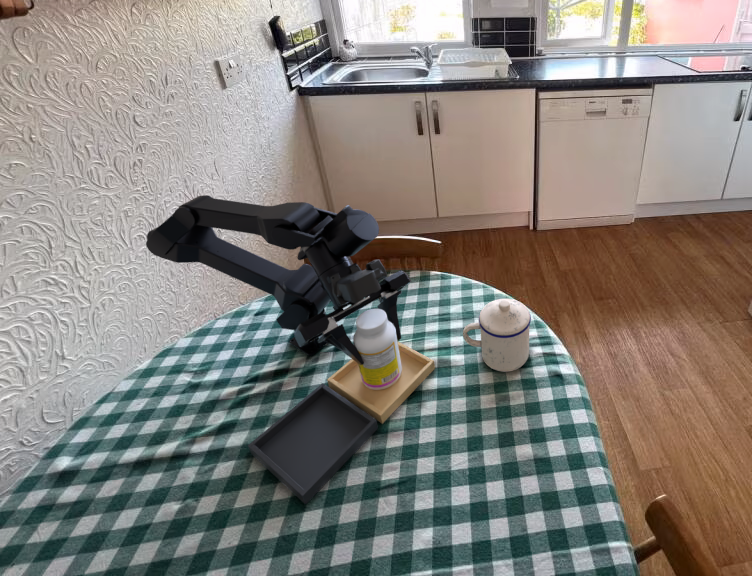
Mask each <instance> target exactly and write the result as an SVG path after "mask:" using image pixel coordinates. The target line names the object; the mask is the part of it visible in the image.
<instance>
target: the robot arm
mask: <svg viewBox="0 0 752 576" xmlns="http://www.w3.org/2000/svg"><path fill="white" fill-rule="evenodd" d="M172 213H173V214H171V215H170V216H169V217H167V219H166V220H165V221H163V222H162V223H161V224H160V225H158V226H157V227H155V228H152V229H151V230H150V231H148V232H147V234H146V241H145V246H146V248H147V250H148V251H149V252H150V253H151V254H152V255H154V256H156V257H159V258H161V259H163V260H167V261H170V262H174V263H176V264H177V263H178V264H187V263H188V264H190V263H200V264H202V265H205V266H207V267H209V268H211V269H213V270H216V271H218V272H220V273H223V274H225V275H227V276H229V277H232V278H233V279H235V280H237V281H240V282H242V283H245V284H247V285H249V286H251V287H253V288H256V289H258V290H260V291H262V292H265V293H266V294H269V295H271V296H272V297H274V299H275V301H276V303H277V304H278V306H279V308H280V309H281V311H282V312H281V314H280V315H279V316H278V317H277V318H276V322H277V324H278V325H279V326H280V328H281V329H283V330H289V331H293V332H294V334H293V336H294V337H292V338H290V340H289V344H290V345H291V346H293V347H294V348H295V349H297V350H299V351H301V352H302V353H304V354H305V355H306V356H308V357H312V356H313V355H315V354H316V353H317V352H319V351H320V350H322V349H323V348H325V346H327V345H328V344H329V345H331V346H333V347H335V348H336V349H338V350H340V351H341V352H342V353H344V354H345V355H346V356H347V357H349V358H350V359H353V360H354V361H355V362H357V363H358V364H359V365H363V364H364V361H363V359H362V357H361V355H360V354H359V352H358V351H357V349H356V348H355V346H354V343H353V342H352V340H351V338H350V337H349V335H348V334H347V332H346V329H345V327H344V325H343V323H341V324H338V322H340V321H342V320H344V319H345V318H347V317H348V316H350V315H353V314H354V313H356V312H358V311H359V310H361V309H363V308H365V307H366V306H368V305H371V304H372V303H374V302H375V301H377V300H378V302H379V304H378V305H377V306H376V308H377V309H381V310H383V311H385V313H386V315H387V319H388V321H390V322H391V323H392V324H393V325H394V327H395V330H396V335H397V341H399V340H402V333H401V328H400V322H399V315H398V298H399V296H400V295H402V294H403V291H402V290H403V289H404V288H405V287H407V286H408V285H409V284H410V283H412V279H411V277H410V275H409V274H408V273H407V271H404V270H402V269H399V270H397V271H396V272H394V273H393V274H390V275H389V276H388V273H387V270H386V268H385V266H384V265H383V263H382V262H381V260H380V259H374V260H372V261H370V262H368V263H366V264H365V269H363V270H362V269H361V268H360V266H359V265H358V263H357V262H353V260H352V258H351V257H353V256H355V255H356V254H357V253H359V252H360V251H361V250H362V249H363V248H365V247H366V246H367V245H369V244H370V243H371V242H373V241H374V240H375V239H377V237H378V236H379V234H380V227H379V226H380V225H379V224H378V222H377V220H376V218H375V216H373V214H371V213H368V212H366V211H365V210H362V209H353V208H352V206H350V205H349V204H347V205H345V206H344V207H343V208H342V209H341V210H340V211H338V212H337V213H336V212H333V211H329V210H326V209H323V208H319V207H315V206H314V205H313V204H312V203H309V202H306V201H305V202H304V201H299V202H298V201H297V202H296V201H293V202H285V203H280V204H275V205H262V204H254V203H250V202H249V203H248V202H240V201H235V200H229V199H228V200H227V199H221V198H214V197H212V196H211V195H208V194H204V195H198V196H196V197H194V198H192V199H190V200H188V201H186V202H184V203H182V204H181V205H179V206H178V207H177V209H175V211H174V212H172ZM215 229H219V230H225V231H232V232H239V233H245V234H252V235H256V236H261V237H262V239H263V240H264V241H265V242H266V243H267V244H268V245H272V246H275V247H279V248H281V249H285V250H289V251H291V250H292V251H295V250H297V249H298V248H299V251H298V253H297V258H296V259H297V260H298V261H303V260H305V259H307V260H308V261H309V263H310V264H308V263H303V264H302V265H301V266H300V267H298V268H297V269H289V268H286V267H284V266H282V265H280V264H278V263H275V262H273V261H271V260H269V259H266V258H264V257H263V256H260V255H258V254H255V253H253V252H251V251H249V250H247V249H245V248H242V247H239V246H238V245H236V244H233V243H231V242H229V241H227V240H224V239H222V238H220V237H218V236H217V234H216V231H215ZM330 303H332V305H333V306H332V308H333V311H331V312H330V313H328V314H327V313H326V310H325V308H326V307H327V306H328V305H329V304H330Z"/></svg>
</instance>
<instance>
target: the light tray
mask: <svg viewBox="0 0 752 576" xmlns="http://www.w3.org/2000/svg"><path fill="white" fill-rule="evenodd" d="M397 342H398V348H399V354H400V359H401V366H402V372H401V375H400V377H399V379H398V380H397V381H396V382H395V383H394V384H393V385H392V386H390V387H388V388H386V389H382V390H372V389H369V388H367V387H366V386H365V385H364V384H363V381H362V378H361V374H360V369H359V365H358V363H357V362H355V361H354V360H353V359H352V358H350V360H349V361H347V362H346V363H345V364H344V365H343V366H342V367H340V368H339V369H338V370H337V371H335V372H334V373H333V374H332V375H331V376H329V377H328V378H326V381H327V384H328V387H329V388H330V389H332V390H333V391H335V392H336V393H338V394H339V395H341V396H342V397H343V398H345V399H346V400H348V401H349V402H351V403H352V404H354V405H355V406H357V407H358V408H359V409H361V410H362V411H364V412H365V413H367V414H368V415H370V416H371V417H373V418H374V419H376V421H377V422H379V423H380V424H381V425H383V424H384V423H385V422H386V421H387V420H388V419H389V418H390V416H391V415H392V414H393V413H394V412H395V411H396V410H397V409H398V408H399V407H400V406H401V405H402V404H403V403H404V402H405V401H406V400H407V399H408V398H409V397H410V395H411V394H412V393H413V392H414V391H415V390H416V389H417V388H418V387H419V386H420V385H421V384H422V383H423V382H424V381H425V380H426V379H427V378H428V377H429V375H430V374H432V372H433V371H434V370H435V369H436V365H435V360H434V359H432V358H430V357H429V356H426V355H424V354H422V353H421V352H418V351H417V350H415V349H414V348H412V347H409V346H408V345H406V344H404V343H402V342H400V341H399V340H397Z"/></svg>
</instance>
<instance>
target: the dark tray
mask: <svg viewBox="0 0 752 576" xmlns="http://www.w3.org/2000/svg"><path fill="white" fill-rule="evenodd" d="M377 430H379V426H378V421H377V420H376V419H375V418H373V417H372V416H370V415H369V414H367V413H366V412H364V411H363V410H361V409H360V408H359V407H357V406H356V405H354V404H353V403H351V402H350V401H348V400H347V399H345V398H344V397H342V396H341V395H340V394H338V393H337V392H335V391H334V390H332V389H331V388H329V386H327V385H326V384H324V383H321V384H319V385H318V386H316V388H315V389H314V390H313V391H311V392H310V393H309V394H308V395H306V396H305V397H304V398H303V399H301V401H299V402H298V403H297V404H296V405H294V406H293V407H292V408H291V409H289V410H288V411H287V412H286V413H285V414H283V415H282V416H281V417H280V418H279V419H278V420H276V421H275V422H274V423H272V425H270V426H269V427H268V428H267V429H266V430H264V431H263V432H262V433H261V434H260V435H258V436H257V437H255V438H254V439H253V441H251V442H250V443H249V444H247V447H248V450H249V452H250V455H252V457H254V458H255V459H256V460H257V461H258V462H259V463H260V464H261V465H262V466H264V468H266V470H267V471H269V472H270V473H271V474H272V475H273V476H274V477H275V478H276V479H278V481H280V483H282V484H283V485H284V486H285V487H286V488H287V489H288V490H289V491H290V492H292V494H293V495H295V496H296V497H297V498H298V499H299V500H300V501H301V502H302V503H303V504H304V505H307V504H308V503H309V502H310V501H311V500H312V498H314V497H315V496H316V495H317V493H319V492H320V490H321V489H323V487H324V486H325V485H326V484H327V483H328V481H330V480H331V478H333V476H334V475H335V474H337V472H338V471H339V470H340V469H341V468H342V467H343V466H344V465H345V464H346V463H347V462H348V461H349V460H350V459H351V458H352V456H354V454H356V453H357V452H358V450H359V449H361V447H362V446H363V445H364V444H365V443H366V442H367V441H368V440H369V439H370V438H371V436H373V435H374V434H375V433H376V431H377Z"/></svg>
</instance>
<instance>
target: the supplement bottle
mask: <svg viewBox="0 0 752 576" xmlns="http://www.w3.org/2000/svg"><path fill="white" fill-rule="evenodd" d="M355 326H356V330H355V332H354V334H353V338H352V341H353V342H352V343H353V345H354V346H355V348H356V349H357V351H358V352H359V354H360V355H361V357H362V359H363V361H364V364H363V365H359V364H358V365H359V369H360V374H361V378H362V381H363V384H364V385H365V386H366V387H367V388H369V389H372V390H382V389H386V388H388V387H390V386H392V385H393V384H394V383H395V382H396V381H397V380H398V379H399V377H400V375H401V372H402V366H401V359H400V354H399V348H398V342H399V341H398V340H397V335H396V330H395V327H394V325H393V324H392V323H391V322H390V321H388V319H387V315H386V313H385V311H383V310H381V309H378V308H370V309H367V310H365V311H363V312H361V313H360V314H359V315H358V316H357V317H356V320H355ZM397 341H398V342H397Z"/></svg>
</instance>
